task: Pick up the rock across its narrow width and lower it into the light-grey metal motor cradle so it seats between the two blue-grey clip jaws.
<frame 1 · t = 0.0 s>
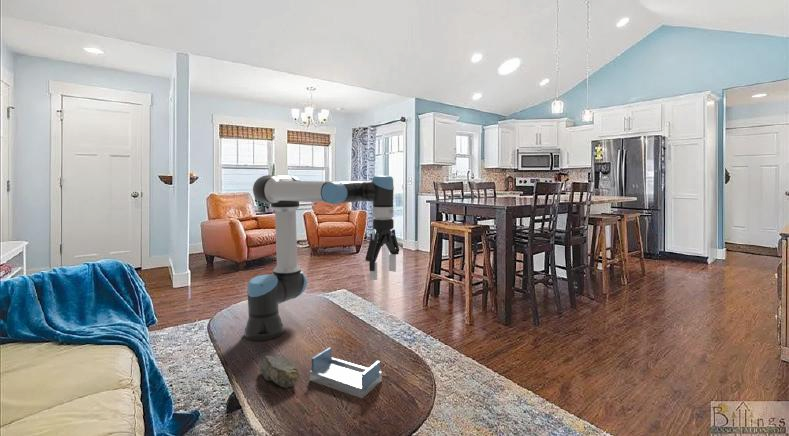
hand: (383, 275, 142), 28 cm above the table, fingers open, 13 cm apart
rock: (279, 380, 123), on the table
cradle: (345, 380, 122), on the table
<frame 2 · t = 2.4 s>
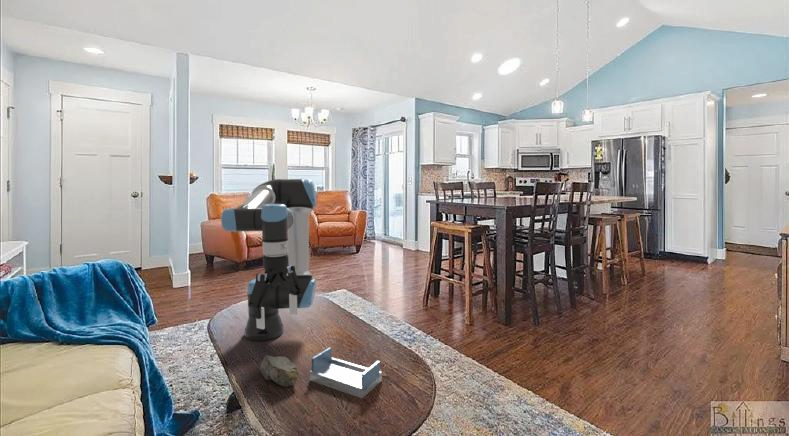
hand: (277, 320, 121), 19 cm above the table, fingers open, 13 cm apart
nothing on the table moved.
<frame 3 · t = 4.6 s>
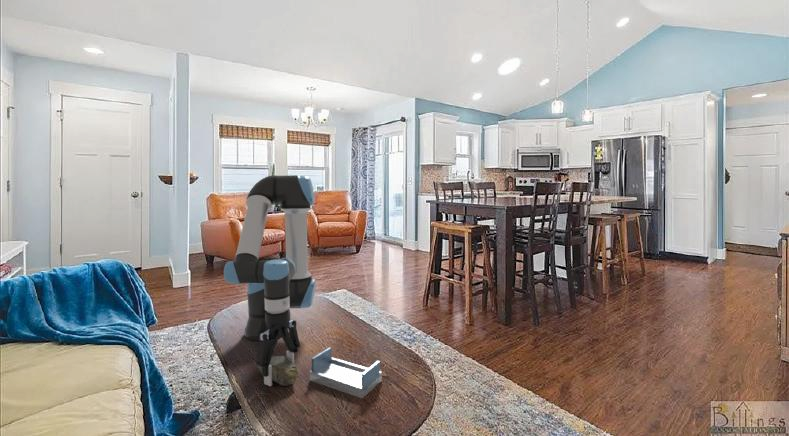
hand: (279, 377, 123), 0 cm above the table, fingers closed on rock, 9 cm apart
rock: (278, 378, 124), on the table, touching gripper
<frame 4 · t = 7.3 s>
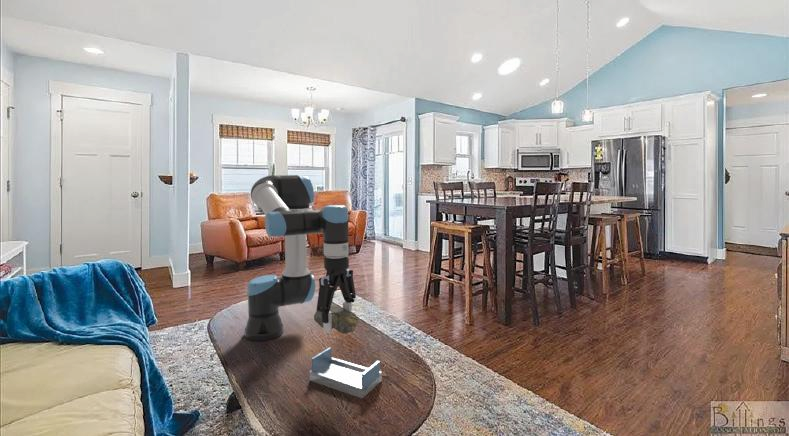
hand: (337, 326, 120), 18 cm above the table, fingers closed on rock, 9 cm apart
rock: (336, 328, 120), point 17 cm above the table, touching gripper
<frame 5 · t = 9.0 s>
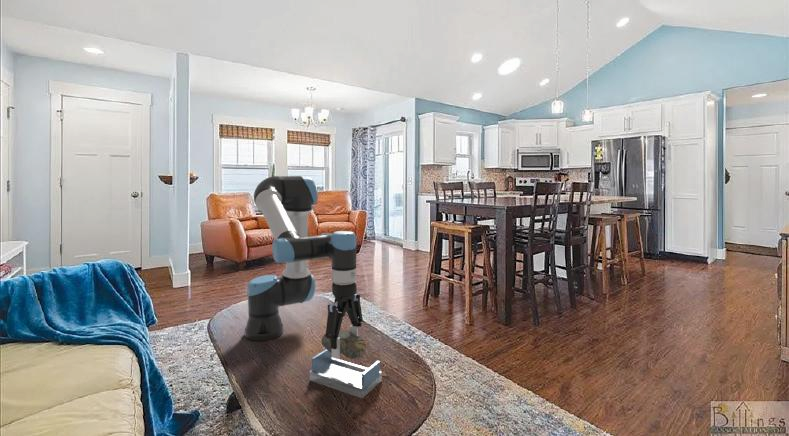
hand: (345, 351, 121), 10 cm above the table, fingers closed on rock, 9 cm apart
rock: (343, 352, 122), point 9 cm above the table, touching gripper
when the fingers open (5 cm above the table, at t = 10.4 s): rock moves 1 cm, resting on cradle.
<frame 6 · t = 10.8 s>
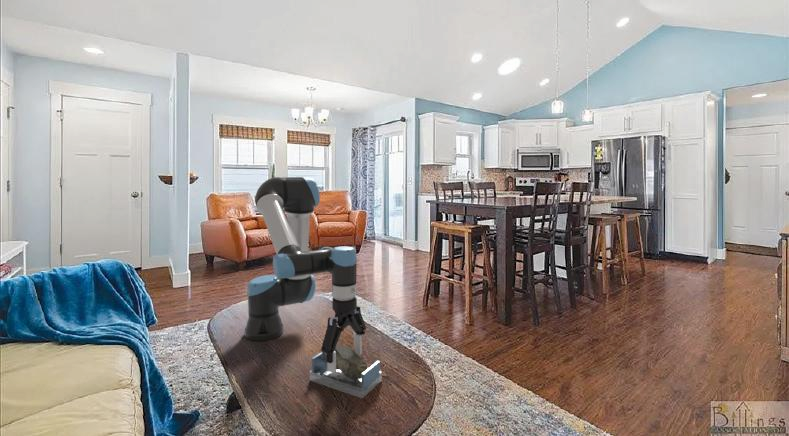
hand: (345, 362, 121), 6 cm above the table, fingers open, 13 cm apart
rock: (343, 368, 123), point 3 cm above the table, touching cradle
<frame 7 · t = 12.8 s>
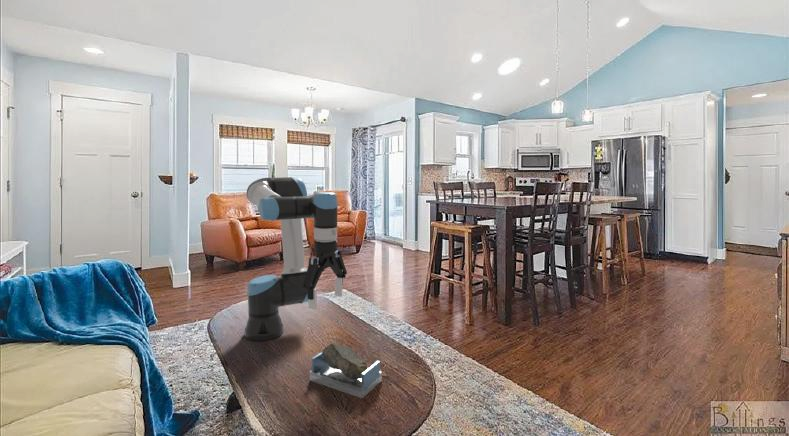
hand: (326, 302, 129), 23 cm above the table, fingers open, 13 cm apart
nothing on the table moved.
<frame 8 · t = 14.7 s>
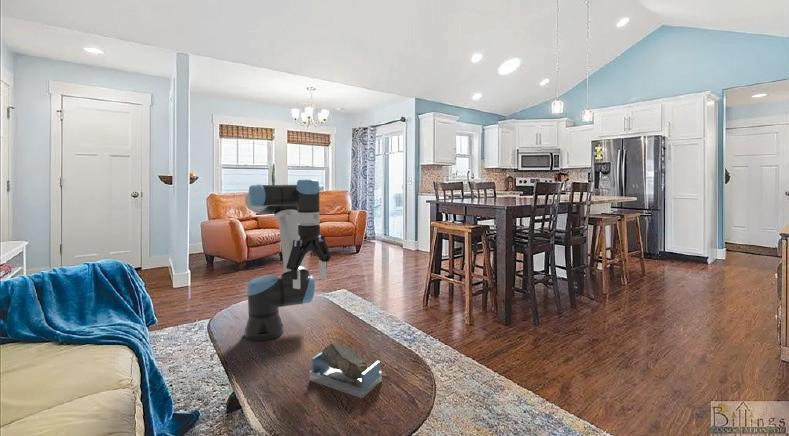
hand: (310, 283, 136), 27 cm above the table, fingers open, 13 cm apart
nothing on the table moved.
at the end: rock inside the target area on the cradle (1.2 cm from its centre), point 3.5 cm above the cradle's base; rock touching cradle; the gripper is holding nothing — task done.
